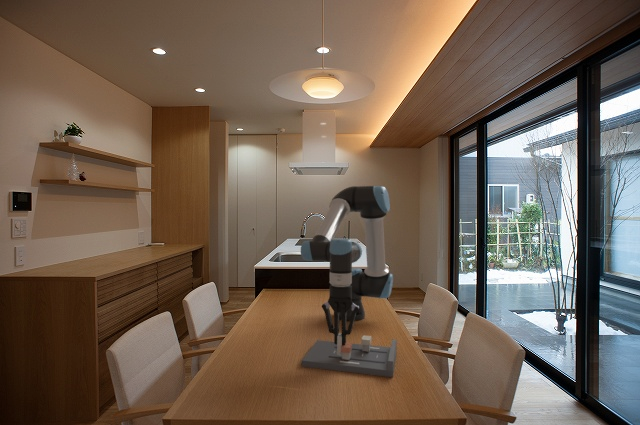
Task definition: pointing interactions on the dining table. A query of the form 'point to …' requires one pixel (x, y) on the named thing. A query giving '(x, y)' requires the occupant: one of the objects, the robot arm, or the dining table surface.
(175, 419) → the dining table surface
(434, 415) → the dining table surface
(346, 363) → the console
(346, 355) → the fader
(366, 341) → the fader
